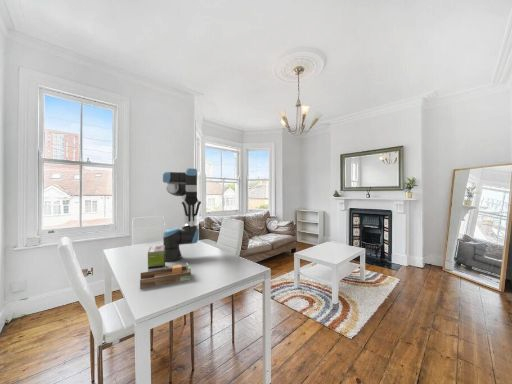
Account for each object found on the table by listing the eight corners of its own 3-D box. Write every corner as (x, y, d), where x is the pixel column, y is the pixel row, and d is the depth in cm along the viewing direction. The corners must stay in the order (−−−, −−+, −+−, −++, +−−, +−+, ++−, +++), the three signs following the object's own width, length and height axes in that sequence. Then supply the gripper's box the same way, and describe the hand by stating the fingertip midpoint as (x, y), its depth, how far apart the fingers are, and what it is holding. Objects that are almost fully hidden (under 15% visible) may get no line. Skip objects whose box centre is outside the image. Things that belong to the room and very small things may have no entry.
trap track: (140, 280, 130) (140, 269, 130) (187, 272, 142) (187, 262, 142) (140, 288, 120) (139, 276, 120) (190, 279, 132) (190, 268, 132)
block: (172, 272, 137) (172, 265, 137) (180, 270, 139) (180, 264, 139) (173, 274, 132) (173, 268, 132) (181, 273, 134) (181, 267, 134)
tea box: (150, 267, 152) (149, 246, 152) (165, 265, 156) (165, 244, 156) (147, 275, 138) (147, 251, 138) (164, 272, 142) (164, 250, 142)
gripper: (182, 191, 141) (182, 227, 142) (202, 191, 147) (202, 226, 148) (180, 191, 148) (180, 226, 148) (199, 191, 154) (199, 224, 154)
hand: (191, 226), depth 148 cm, fingers closed
